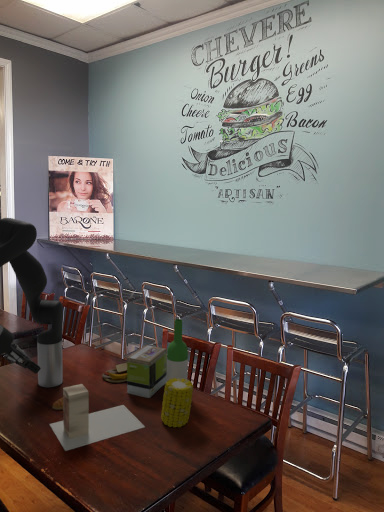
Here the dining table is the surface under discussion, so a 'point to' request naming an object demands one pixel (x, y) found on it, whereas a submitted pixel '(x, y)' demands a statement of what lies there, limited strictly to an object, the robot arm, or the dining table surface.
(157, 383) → the tea box
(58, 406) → the pastry
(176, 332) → the wine bottle
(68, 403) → the maple block
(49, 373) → the robot arm
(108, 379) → the toy sandwich meal
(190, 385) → the food
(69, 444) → the grey mat
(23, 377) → the dining table surface
